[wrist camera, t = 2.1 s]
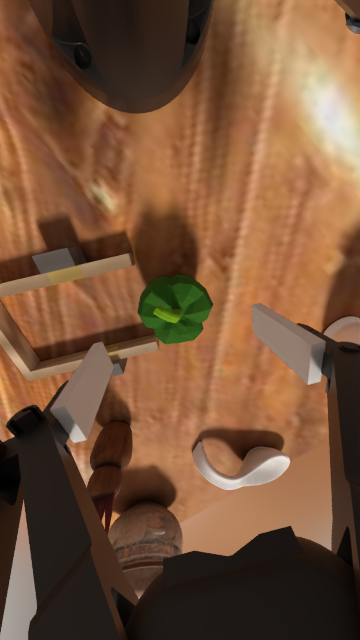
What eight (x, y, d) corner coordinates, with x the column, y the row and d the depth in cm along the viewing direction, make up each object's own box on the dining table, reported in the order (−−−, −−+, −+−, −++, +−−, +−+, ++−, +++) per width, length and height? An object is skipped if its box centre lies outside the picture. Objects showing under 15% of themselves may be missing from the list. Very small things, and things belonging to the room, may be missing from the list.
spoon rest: (290, 441, 45) (312, 475, 38) (266, 469, 49) (283, 504, 42) (203, 429, 40) (212, 466, 33) (185, 461, 44) (190, 500, 37)
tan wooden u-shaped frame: (-30, 272, 23) (-61, 277, 19) (126, 235, 23) (120, 234, 20) (44, 379, 30) (31, 395, 27) (161, 351, 30) (162, 364, 27)
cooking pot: (163, 528, 56) (164, 599, 45) (101, 527, 52) (85, 605, 41) (194, 484, 48) (204, 558, 37) (123, 477, 43) (110, 559, 32)
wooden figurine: (135, 416, 36) (119, 525, 22) (135, 435, 38) (121, 545, 24) (99, 417, 35) (59, 531, 21) (101, 437, 37) (67, 551, 23)
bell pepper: (210, 300, 27) (236, 329, 18) (168, 330, 29) (172, 371, 20) (178, 253, 24) (189, 260, 15) (132, 290, 26) (116, 316, 16)
